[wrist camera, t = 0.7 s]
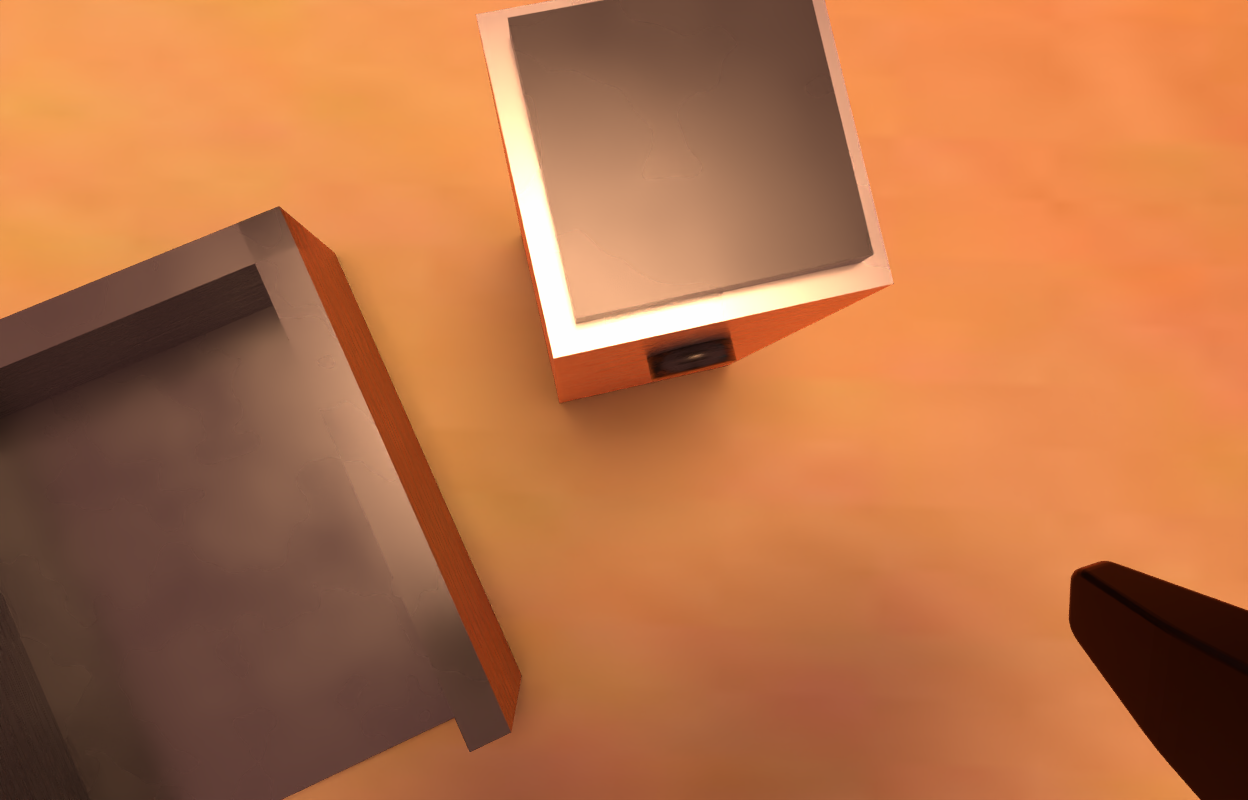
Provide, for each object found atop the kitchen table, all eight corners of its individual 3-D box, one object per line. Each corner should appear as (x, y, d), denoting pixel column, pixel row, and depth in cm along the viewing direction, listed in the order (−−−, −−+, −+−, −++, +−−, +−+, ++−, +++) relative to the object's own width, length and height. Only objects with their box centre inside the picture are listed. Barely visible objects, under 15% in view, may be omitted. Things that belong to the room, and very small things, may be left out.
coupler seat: (521, 675, 23) (511, 732, 18) (106, 872, 22) (-14, 984, 17) (334, 252, 23) (278, 206, 19) (-85, 426, 22) (-252, 421, 17)
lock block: (730, 378, 24) (915, 304, 11) (562, 416, 23) (559, 383, 11) (688, 199, 24) (824, -70, 11) (521, 234, 23) (471, -5, 11)
